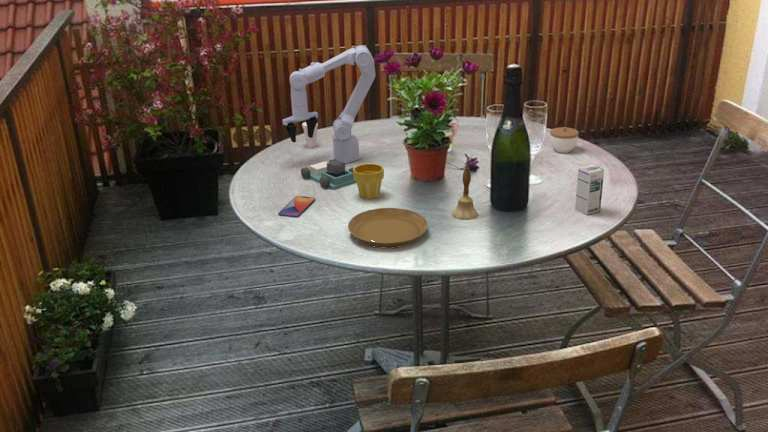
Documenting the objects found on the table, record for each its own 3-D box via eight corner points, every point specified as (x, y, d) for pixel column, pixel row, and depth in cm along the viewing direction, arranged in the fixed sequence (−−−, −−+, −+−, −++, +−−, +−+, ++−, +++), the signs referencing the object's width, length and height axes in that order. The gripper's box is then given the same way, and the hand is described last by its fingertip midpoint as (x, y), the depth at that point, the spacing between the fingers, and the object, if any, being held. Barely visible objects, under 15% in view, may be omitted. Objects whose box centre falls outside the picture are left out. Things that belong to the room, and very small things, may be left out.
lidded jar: (579, 154, 278) (582, 131, 274) (551, 155, 278) (553, 132, 274) (573, 145, 288) (575, 123, 284) (546, 146, 288) (548, 123, 284)
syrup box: (586, 215, 228) (591, 172, 222) (574, 208, 232) (578, 166, 226) (600, 211, 230) (605, 169, 224) (587, 205, 235) (592, 163, 229)
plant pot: (347, 195, 247) (346, 169, 243) (368, 187, 253) (368, 160, 249) (369, 203, 240) (368, 176, 236) (390, 194, 247) (390, 167, 243)
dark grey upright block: (334, 175, 261) (333, 160, 258) (345, 178, 258) (344, 162, 256) (327, 179, 258) (326, 163, 255) (338, 181, 255) (337, 165, 253)
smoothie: (320, 143, 297) (318, 110, 291) (317, 149, 291) (315, 115, 285) (305, 143, 298) (302, 110, 292) (302, 148, 292) (299, 115, 286)
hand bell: (473, 208, 235) (475, 161, 228) (481, 218, 228) (483, 171, 221) (449, 210, 234) (449, 164, 227) (455, 220, 226) (456, 173, 220)
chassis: (329, 166, 273) (329, 156, 271) (362, 180, 259) (361, 170, 257) (298, 175, 265) (297, 165, 263) (329, 191, 251) (329, 180, 249)
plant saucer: (422, 254, 207) (422, 244, 206) (340, 249, 211) (340, 239, 210) (431, 219, 229) (431, 209, 227) (357, 215, 233) (357, 206, 231)
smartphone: (277, 216, 234) (277, 213, 233) (296, 198, 246) (296, 195, 246) (298, 219, 232) (298, 216, 231) (316, 200, 244) (316, 197, 244)
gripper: (309, 98, 275) (312, 132, 280) (277, 106, 266) (280, 141, 272) (320, 102, 270) (322, 137, 275) (287, 110, 261) (290, 145, 267)
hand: (302, 139), depth 273 cm, fingers open, 7 cm apart
